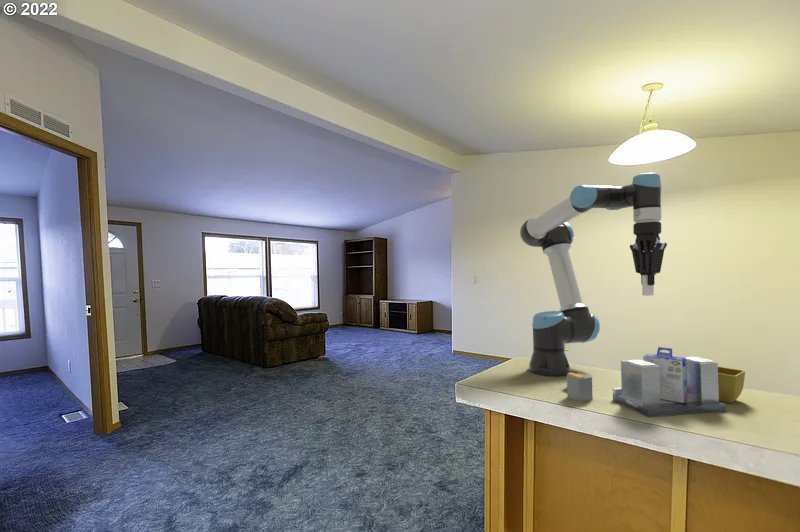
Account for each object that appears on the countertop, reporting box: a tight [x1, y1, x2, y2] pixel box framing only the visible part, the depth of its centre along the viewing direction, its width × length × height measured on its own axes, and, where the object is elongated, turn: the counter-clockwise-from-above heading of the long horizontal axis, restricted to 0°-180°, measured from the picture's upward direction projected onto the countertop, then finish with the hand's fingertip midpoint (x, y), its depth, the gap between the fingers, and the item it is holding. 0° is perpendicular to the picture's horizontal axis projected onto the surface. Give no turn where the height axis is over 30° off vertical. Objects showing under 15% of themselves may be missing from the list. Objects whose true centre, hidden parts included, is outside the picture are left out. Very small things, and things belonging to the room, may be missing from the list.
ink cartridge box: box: [642, 346, 687, 403], centre depth 110 cm, size 10×6×14 cm, turn 45°
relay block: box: [566, 371, 594, 403], centre depth 117 cm, size 5×5×8 cm
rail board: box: [612, 356, 727, 418], centre depth 110 cm, size 14×24×13 cm, turn 97°
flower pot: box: [718, 366, 746, 404], centre depth 114 cm, size 9×9×9 cm
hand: (647, 295), depth 120 cm, fingers closed
